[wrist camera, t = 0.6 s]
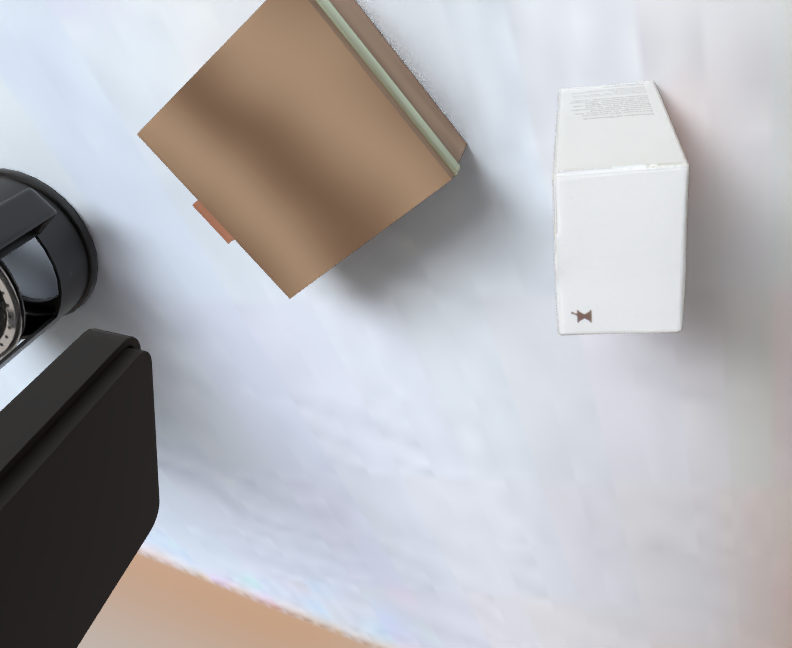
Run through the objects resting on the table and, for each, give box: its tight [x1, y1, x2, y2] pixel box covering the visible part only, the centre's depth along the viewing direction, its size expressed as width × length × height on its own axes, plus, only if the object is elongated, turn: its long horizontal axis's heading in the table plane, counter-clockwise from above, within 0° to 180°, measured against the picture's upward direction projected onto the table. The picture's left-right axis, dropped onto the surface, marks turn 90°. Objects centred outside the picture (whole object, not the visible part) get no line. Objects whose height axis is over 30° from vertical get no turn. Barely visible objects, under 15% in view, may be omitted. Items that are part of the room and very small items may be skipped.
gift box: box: [137, 0, 467, 298], centre depth 35 cm, size 11×10×5 cm
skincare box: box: [552, 81, 689, 335], centre depth 29 cm, size 6×4×12 cm
